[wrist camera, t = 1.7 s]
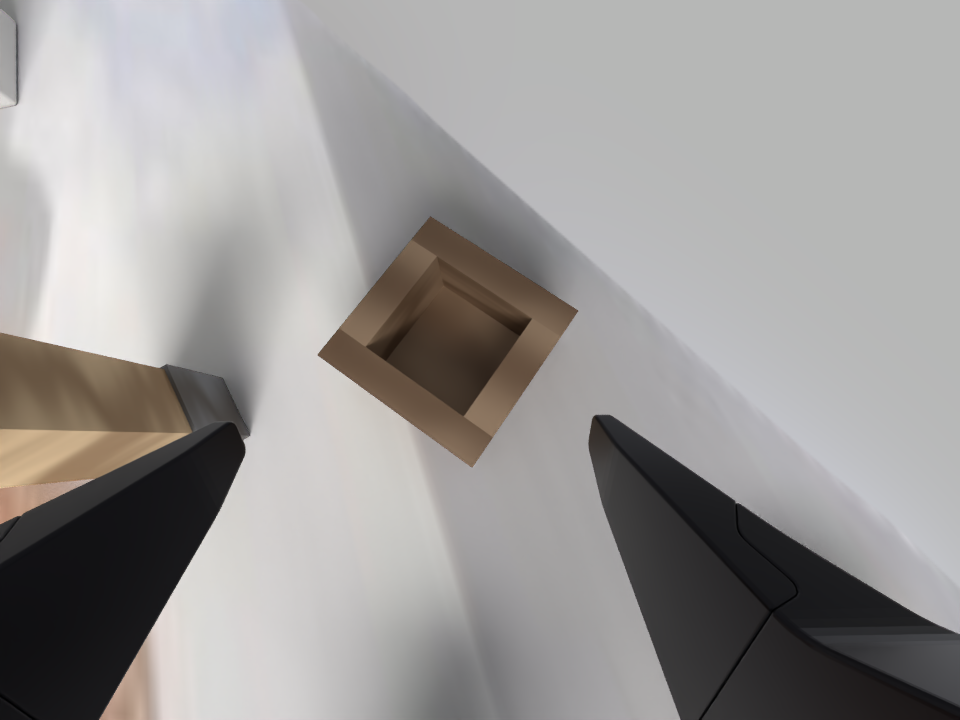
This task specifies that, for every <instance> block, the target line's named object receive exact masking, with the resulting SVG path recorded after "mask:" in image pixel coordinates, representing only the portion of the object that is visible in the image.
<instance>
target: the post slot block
mask: <svg viewBox="0 0 960 720" xmlns="http://www.w3.org/2000/svg"><path fill="white" fill-rule="evenodd" d="M577 312H578V310H577V309H575V308H573V307H572V306H570V305H569V304H567V303H566V302H564V301H562V300H561V299H559V298H558V297H556V296H555V295H553V294H551V293H550V292H548V291H547V290H545V289H544V288H542V287H540V286H539V285H537V284H536V283H534V282H533V281H531V280H529V279H528V278H526V277H525V276H523V275H522V274H520V273H518V272H517V271H515V270H514V269H512V268H511V267H509V266H507V265H506V264H504V263H503V262H501V261H500V260H498V259H496V258H495V257H493V256H492V255H490V254H489V253H487V252H485V251H484V250H482V249H481V248H479V247H478V246H476V245H474V244H473V243H471V242H470V241H468V240H467V239H465V238H463V237H462V236H460V235H459V234H457V233H456V232H454V231H452V230H451V229H449V228H448V227H446V226H445V225H443V224H441V223H440V222H438V221H437V220H435V219H434V218H432V217H429V219H428V220H427V221H426V222H425V224H424V225H423V226H422V227H421V229H420V230H419V231H418V232H417V233H416V235H415V236H414V237H413V238H412V240H411V241H410V242H409V243H408V244H407V246H406V247H405V248H404V249H403V251H402V252H401V253H400V254H399V255H398V257H397V258H396V259H395V260H394V262H393V263H392V264H391V265H390V266H389V268H388V269H387V270H386V271H385V273H384V274H383V275H382V276H381V277H380V279H379V280H378V281H377V282H376V284H375V285H374V286H373V287H372V289H371V290H370V291H369V292H368V293H367V295H366V296H365V297H364V298H363V300H362V301H361V302H360V303H359V304H358V306H357V307H356V308H355V309H354V311H353V312H352V313H351V314H350V315H349V317H348V318H347V319H346V320H345V322H344V323H343V324H342V325H341V326H340V328H339V329H338V330H337V331H336V333H335V334H334V335H333V336H332V338H331V339H330V340H329V341H328V342H327V344H326V345H325V346H324V347H323V349H322V350H321V351H320V352H319V353H318V356H319V357H321V358H322V359H324V360H325V361H326V362H328V363H329V364H330V365H332V366H333V367H334V368H336V369H337V370H339V371H340V372H341V373H343V374H344V375H345V376H347V377H348V378H350V379H351V380H352V381H354V382H355V383H356V384H358V385H359V386H361V387H362V388H363V389H365V390H366V391H367V392H369V393H370V394H372V395H373V396H374V397H376V398H377V399H378V400H380V401H381V402H383V403H384V404H385V405H387V406H388V407H389V408H391V409H392V410H394V411H395V412H396V413H398V414H399V415H400V416H402V417H403V418H405V419H406V420H407V421H409V422H410V423H411V424H413V425H414V426H415V427H417V428H418V429H420V430H421V431H422V432H424V433H425V434H426V435H428V436H429V437H431V438H432V439H433V440H435V441H436V442H437V443H439V444H440V445H442V446H443V447H444V448H446V449H447V450H448V451H450V452H451V453H453V454H454V455H455V456H457V457H458V458H459V459H461V460H462V461H464V462H465V463H466V464H468V465H469V466H470V467H473V466H474V464H475V463H476V461H477V460H478V459H479V457H480V456H481V454H482V453H483V451H484V450H485V448H486V447H487V445H488V444H489V442H490V441H491V439H492V438H493V436H494V435H495V433H496V432H497V430H498V429H499V427H500V426H501V424H502V423H503V422H504V420H505V419H506V417H507V416H508V414H509V413H510V411H511V410H512V408H513V407H514V405H515V404H516V402H517V401H518V399H519V398H520V396H521V395H522V393H523V392H524V390H525V389H526V387H527V386H528V385H529V383H530V382H531V380H532V379H533V377H534V376H535V374H536V373H537V371H538V370H539V368H540V367H541V365H542V364H543V362H544V361H545V359H546V358H547V356H548V355H549V353H550V352H551V350H552V349H553V347H554V346H555V345H556V343H557V342H558V340H559V339H560V337H561V336H562V334H563V333H564V331H565V330H566V328H567V327H568V325H569V324H570V322H571V321H572V319H573V318H574V316H575V315H576V313H577Z"/></svg>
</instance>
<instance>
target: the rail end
mask: <svg viewBox="0 0 960 720" xmlns="http://www.w3.org/2000/svg"><path fill="white" fill-rule="evenodd" d="M216 421H232V422H234V423H235V424H236V425H237V427H238V430H239V432H240V435H241V437H242V439H243V440H244V439H245V438H247V437H249V436H250V434H249V432H248V430H247V428H246V426H245V424H244V422H243V420H242V417H241V415H240V413H239V411H238V409H237V407H236V405H235V403H234V401H233V399H232V397H231V395H230V393H229V391H228V388H227V386H226V384H225V382H224V380H223V378H221V377H217V376H213V375H208V374H204V373H200V372H196V371H192V370H188V369H184V368H179V367H175V366H171V365H167V364H166V365H164V366H163V367H161V368H156V367H151V366H147V365H143V364H138V363H134V362H129V361H125V360H120V359H116V358H111V357H107V356H102V355H98V354H93V353H89V352H84V351H80V350H76V349H71V348H67V347H62V346H58V345H53V344H49V343H44V342H40V341H35V340H31V339H26V338H22V337H17V336H13V335H8V334H4V333H0V488H6V487H16V486H26V485H36V484H46V483H56V482H66V481H76V480H86V479H96V478H98V477H100V476H102V475H105V474H107V473H109V472H111V471H113V470H115V469H117V468H119V467H121V466H123V465H125V464H127V463H129V462H132V461H134V460H136V459H138V458H140V457H142V456H144V455H146V454H148V453H150V452H152V451H154V450H157V449H159V448H161V447H163V446H165V445H167V444H169V443H171V442H173V441H175V440H177V439H179V438H182V437H184V436H186V435H188V434H190V433H192V432H194V431H196V430H198V429H200V428H202V427H204V426H207V425H209V424H211V423H213V422H216Z"/></svg>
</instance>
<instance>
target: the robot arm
mask: <svg viewBox="0 0 960 720" xmlns="http://www.w3.org/2000/svg"><path fill="white" fill-rule="evenodd" d="M245 450H246V449H245V444H244V442H243V439H242V437H241V435H240V432H239V430H238V427H237V425H236V424H235V423H234V422H232V421H216V422H213V423H211V424H209V425H207V426H204V427H202V428H200V429H198V430H196V431H194V432H192V433H190V434H188V435H186V436H184V437H182V438H179V439H177V440H175V441H173V442H171V443H169V444H167V445H165V446H163V447H161V448H159V449H157V450H154V451H152V452H150V453H148V454H146V455H144V456H142V457H140V458H138V459H136V460H134V461H132V462H129V463H127V464H125V465H123V466H121V467H119V468H117V469H115V470H113V471H111V472H109V473H107V474H105V475H102V476H100V477H98V478H96V479H94V480H92V481H90V482H88V483H86V484H84V485H82V486H80V487H77V488H75V489H73V490H71V491H69V492H67V493H65V494H63V495H61V496H59V497H57V498H55V499H52V500H50V501H48V502H46V503H44V504H42V505H40V506H38V507H36V508H34V509H32V510H30V511H27V512H25V513H24V514H23V515H22V516H17V517H15V518H13V519H11V520H9V521H6V522H4V523H2V524H0V720H99V719H100V717H101V716H102V714H103V712H104V710H105V709H106V707H107V705H108V704H109V702H110V700H111V698H112V697H113V695H114V693H115V691H116V690H117V688H118V686H119V684H120V683H121V681H122V679H123V678H124V676H125V674H126V672H127V671H128V669H129V667H130V665H131V664H132V662H133V660H134V659H135V657H136V655H137V653H138V652H139V650H140V648H141V646H142V645H143V643H144V641H145V639H146V638H147V636H148V634H149V633H150V631H151V629H152V627H153V626H154V624H155V622H156V620H157V619H158V617H159V615H160V614H161V612H162V610H163V608H164V607H165V605H166V603H167V601H168V600H169V598H170V596H171V594H172V593H173V591H174V589H175V588H176V586H177V584H178V582H179V581H180V579H181V577H182V575H183V574H184V572H185V570H186V569H187V567H188V565H189V563H190V562H191V560H192V558H193V556H194V555H195V553H196V551H197V549H198V548H199V546H200V544H201V543H202V541H203V539H204V537H205V536H206V534H207V532H208V530H209V529H210V527H211V525H212V524H213V522H214V520H215V518H216V516H217V514H218V513H219V511H220V509H221V507H222V504H223V502H224V500H225V498H226V496H227V494H228V491H229V489H230V487H231V485H232V483H233V480H234V478H235V476H236V474H237V472H238V469H239V467H240V465H241V463H242V461H243V458H244V456H245ZM589 451H590V456H591V460H592V464H593V468H594V472H595V477H596V481H597V485H598V489H599V493H600V497H601V501H602V505H603V508H604V511H605V514H606V517H607V519H608V522H609V525H610V528H611V530H612V533H613V536H614V539H615V541H616V544H617V547H618V550H619V552H620V555H621V558H622V560H623V563H624V566H625V569H626V571H627V574H628V577H629V580H630V582H631V585H632V588H633V591H634V593H635V596H636V599H637V602H638V604H639V607H640V610H641V613H642V615H643V618H644V621H645V623H646V626H647V629H648V632H649V634H650V637H651V640H652V643H653V645H654V648H655V651H656V654H657V656H658V659H659V662H660V665H661V667H662V670H663V673H664V676H665V678H666V681H667V684H668V686H669V689H670V692H671V695H672V697H673V700H674V703H675V706H676V708H677V711H678V714H679V717H680V719H681V720H960V634H958V633H955V632H953V631H951V630H948V629H946V628H944V627H941V626H939V625H937V624H935V623H933V622H931V621H929V620H927V619H925V618H923V617H921V616H919V615H917V614H916V613H914V612H912V611H910V610H909V609H907V608H905V607H903V606H902V605H900V604H898V603H897V602H895V601H893V600H892V599H890V598H888V597H887V596H885V595H884V594H882V593H880V592H879V591H877V590H875V589H874V588H872V587H870V586H869V585H867V584H865V583H864V582H862V581H860V580H859V579H857V578H855V577H854V576H852V575H850V574H849V573H847V572H846V571H844V570H842V569H841V568H839V567H837V566H836V565H834V564H832V563H831V562H829V561H827V560H826V559H824V558H822V557H821V556H819V555H817V554H816V553H814V552H813V551H811V550H809V549H808V548H806V547H805V546H803V545H801V544H800V543H798V542H797V541H795V540H793V539H792V538H790V537H789V536H787V535H785V534H784V533H782V532H781V531H779V530H778V529H776V528H775V527H773V526H772V525H770V524H769V523H767V522H766V521H764V520H763V519H761V518H760V517H758V516H757V515H755V514H754V513H752V512H751V511H749V510H748V509H747V508H745V507H744V506H742V505H741V504H739V503H737V504H736V502H735V500H733V499H732V498H730V497H729V496H727V495H726V494H725V493H723V492H722V491H720V490H719V489H717V488H716V487H714V486H713V485H712V484H710V483H709V482H707V481H706V480H704V479H703V478H701V477H700V476H698V475H697V474H696V473H694V472H693V471H691V470H690V469H688V468H687V467H685V466H684V465H682V464H681V463H680V462H678V461H677V460H675V459H674V458H672V457H671V456H669V455H668V454H667V453H665V452H664V451H662V450H661V449H659V448H658V447H656V446H655V445H653V444H652V443H651V442H649V441H648V440H646V439H645V438H643V437H642V436H640V435H639V434H637V433H636V432H635V431H633V430H632V429H630V428H629V427H627V426H626V425H624V424H623V423H622V422H620V421H619V420H617V419H616V418H614V417H613V416H611V415H595V416H594V417H593V419H592V423H591V429H590V435H589Z"/></svg>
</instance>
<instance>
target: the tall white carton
mask: <svg viewBox="0 0 960 720" xmlns="http://www.w3.org/2000/svg"><path fill="white" fill-rule="evenodd" d="M16 103H17V83H16V23H15V21H14V20H13V19H12V18H11V17H10V16H9V15H8V14H7V13H5V12H4V11H3V10H2V9H1V8H0V108H4V107H9V106H14V105H16Z"/></svg>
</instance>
